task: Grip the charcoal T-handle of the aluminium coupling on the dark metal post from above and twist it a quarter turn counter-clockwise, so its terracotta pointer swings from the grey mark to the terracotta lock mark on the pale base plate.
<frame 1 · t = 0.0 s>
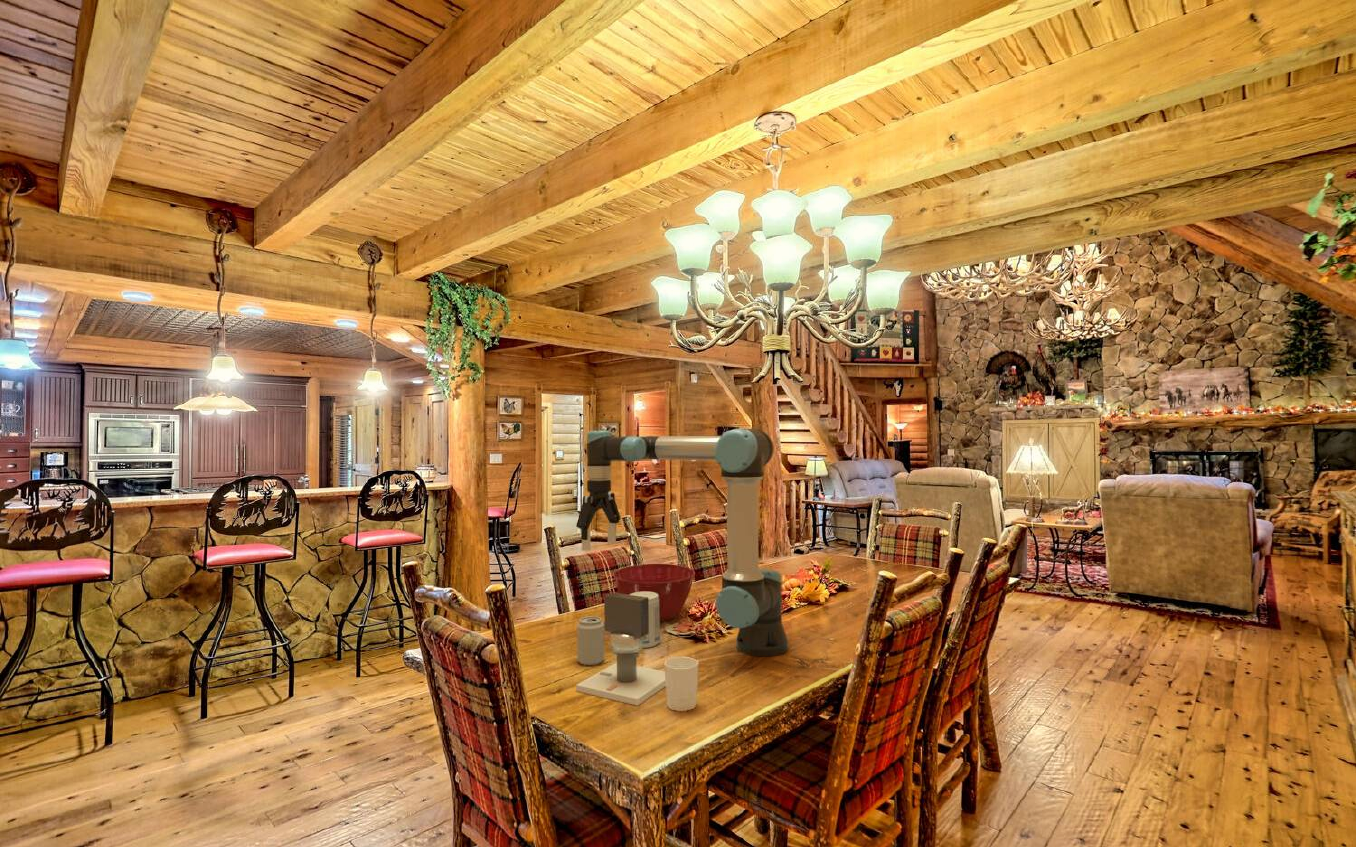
hand: (599, 546, 199), 28 cm above the table, tool pointing down, fingers open, 13 cm apart
mixing bowl: (654, 616, 220), on the table
can: (590, 662, 176), on the table
white cup: (681, 706, 148), on the table
coupling: (624, 622, 160), point 16 cm above the table, hinge at 0.0°
supplement tub: (644, 644, 191), on the table
post base: (626, 685, 160), on the table
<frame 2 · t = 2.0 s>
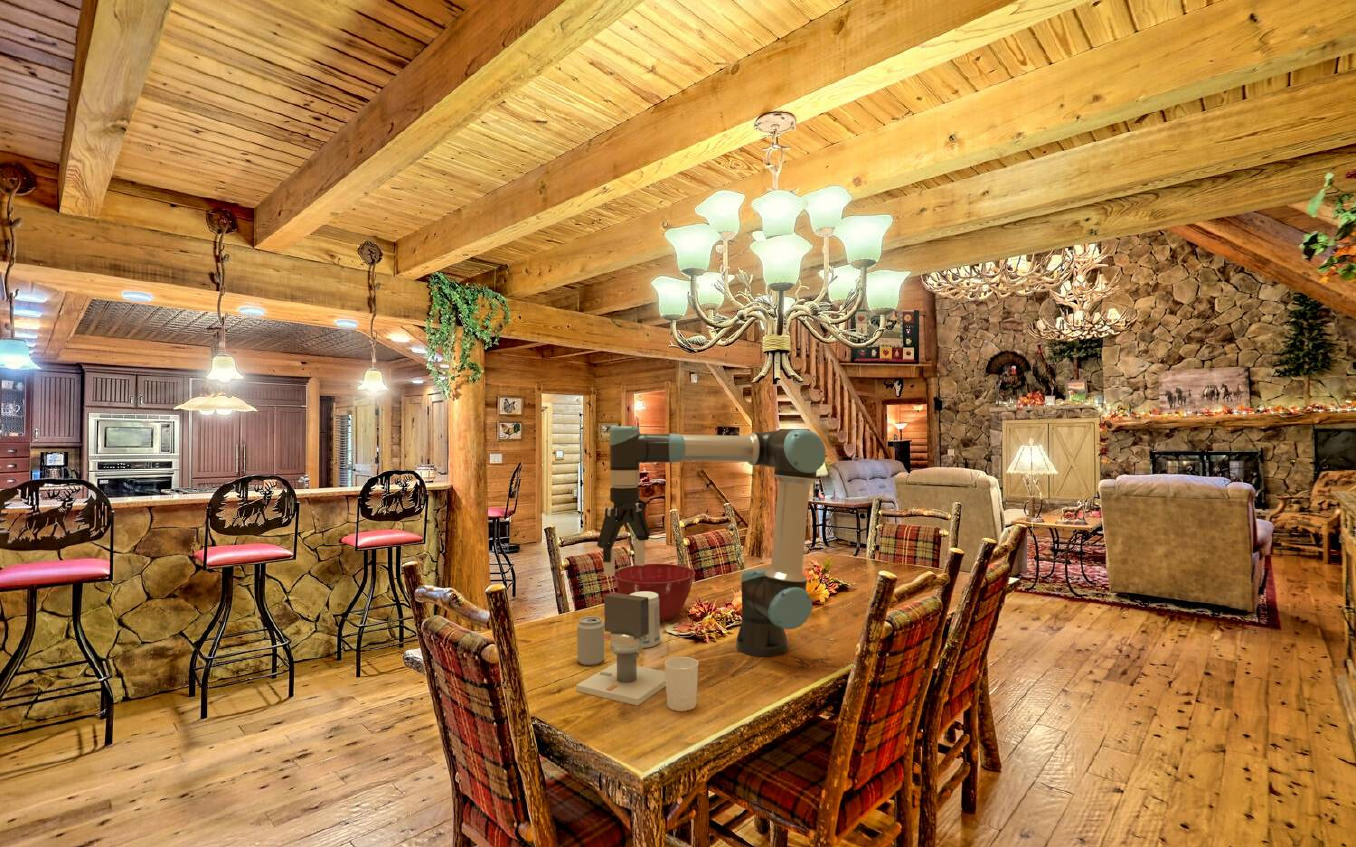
hand: (624, 570, 161), 29 cm above the table, tool pointing down, fingers open, 13 cm apart
nothing on the table moved.
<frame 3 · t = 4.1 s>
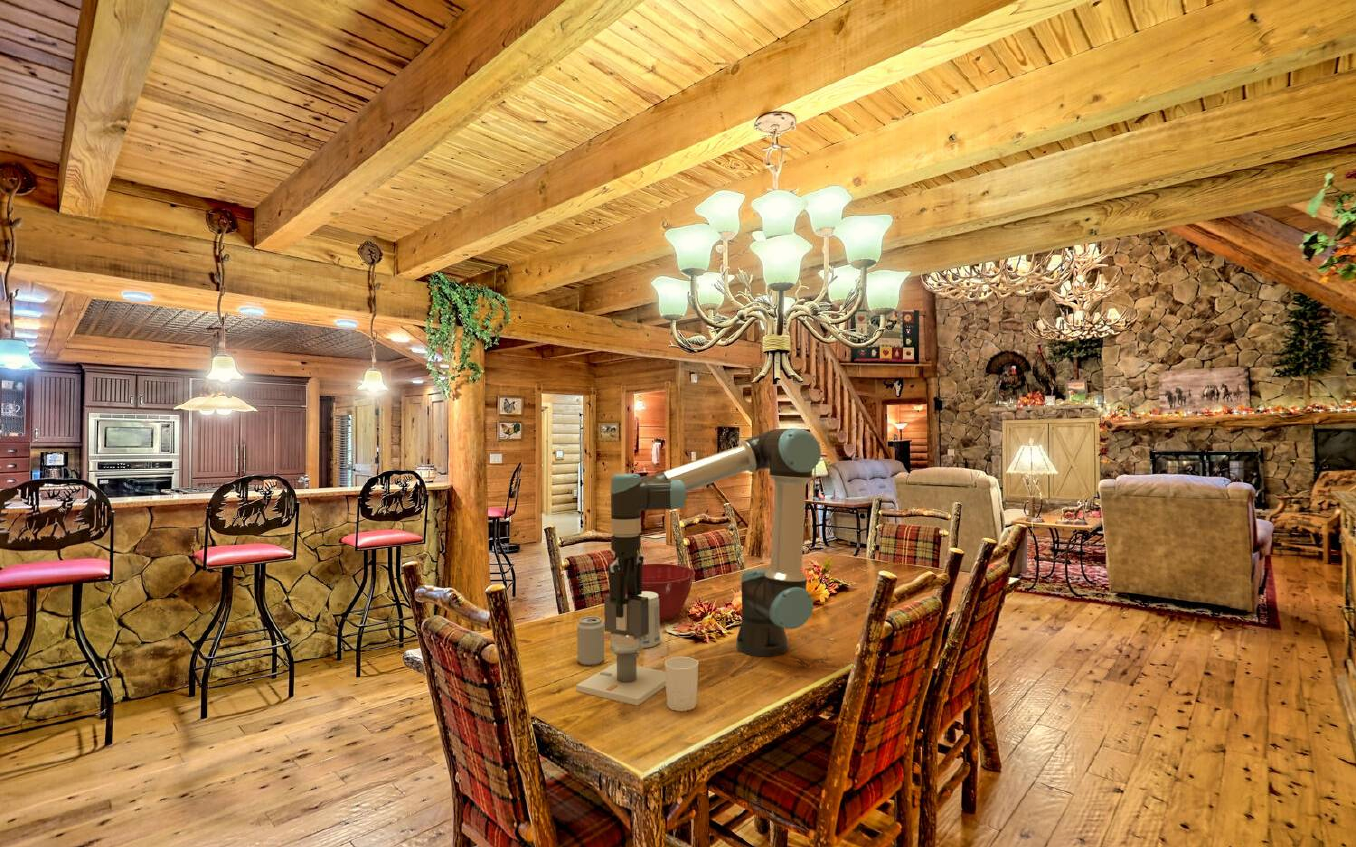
hand: (626, 627, 160), 15 cm above the table, tool pointing down, fingers closed on coupling, 4 cm apart
coupling: (624, 622, 160), point 16 cm above the table, hinge at 0.0°, touching gripper
everything else where it was.
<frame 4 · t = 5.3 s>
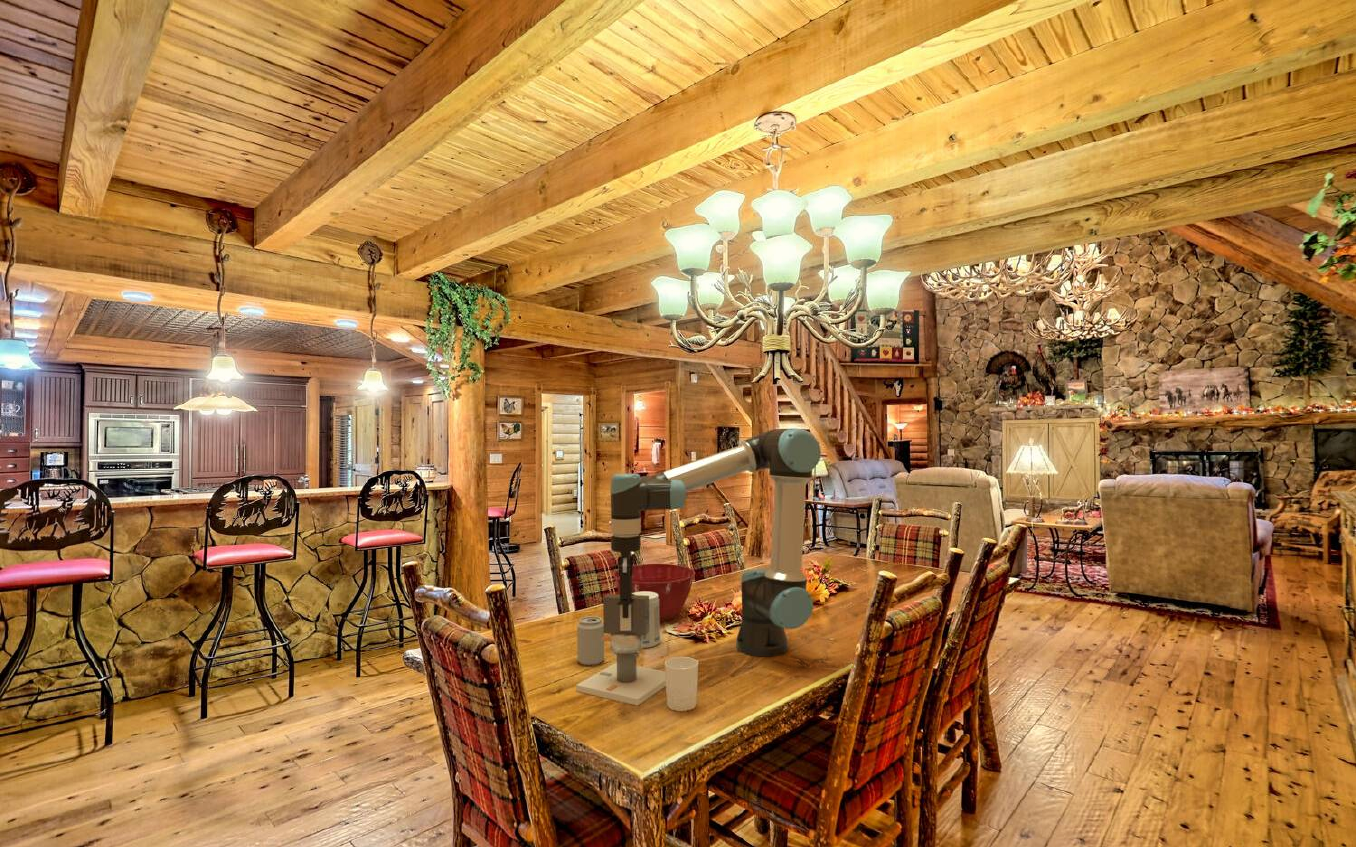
hand: (626, 626, 160), 15 cm above the table, tool pointing down, fingers closed on coupling, 4 cm apart
coupling: (624, 622, 160), point 16 cm above the table, hinge at 16.7°, touching gripper
everything else where it was.
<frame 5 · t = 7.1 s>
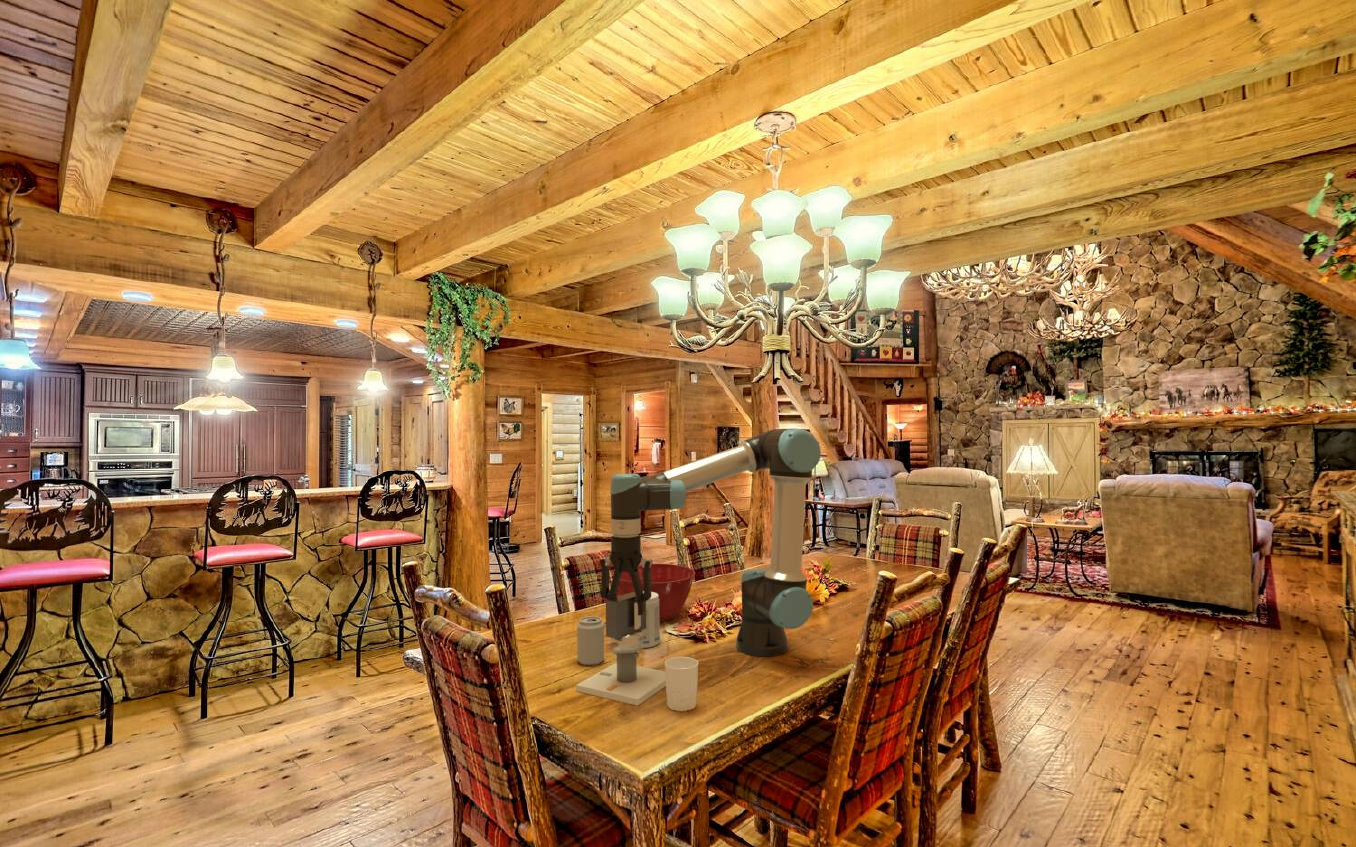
hand: (626, 626, 160), 15 cm above the table, tool pointing down, fingers closed on coupling, 5 cm apart
coupling: (625, 622, 160), point 16 cm above the table, hinge at 80.4°, touching gripper
everything else where it was.
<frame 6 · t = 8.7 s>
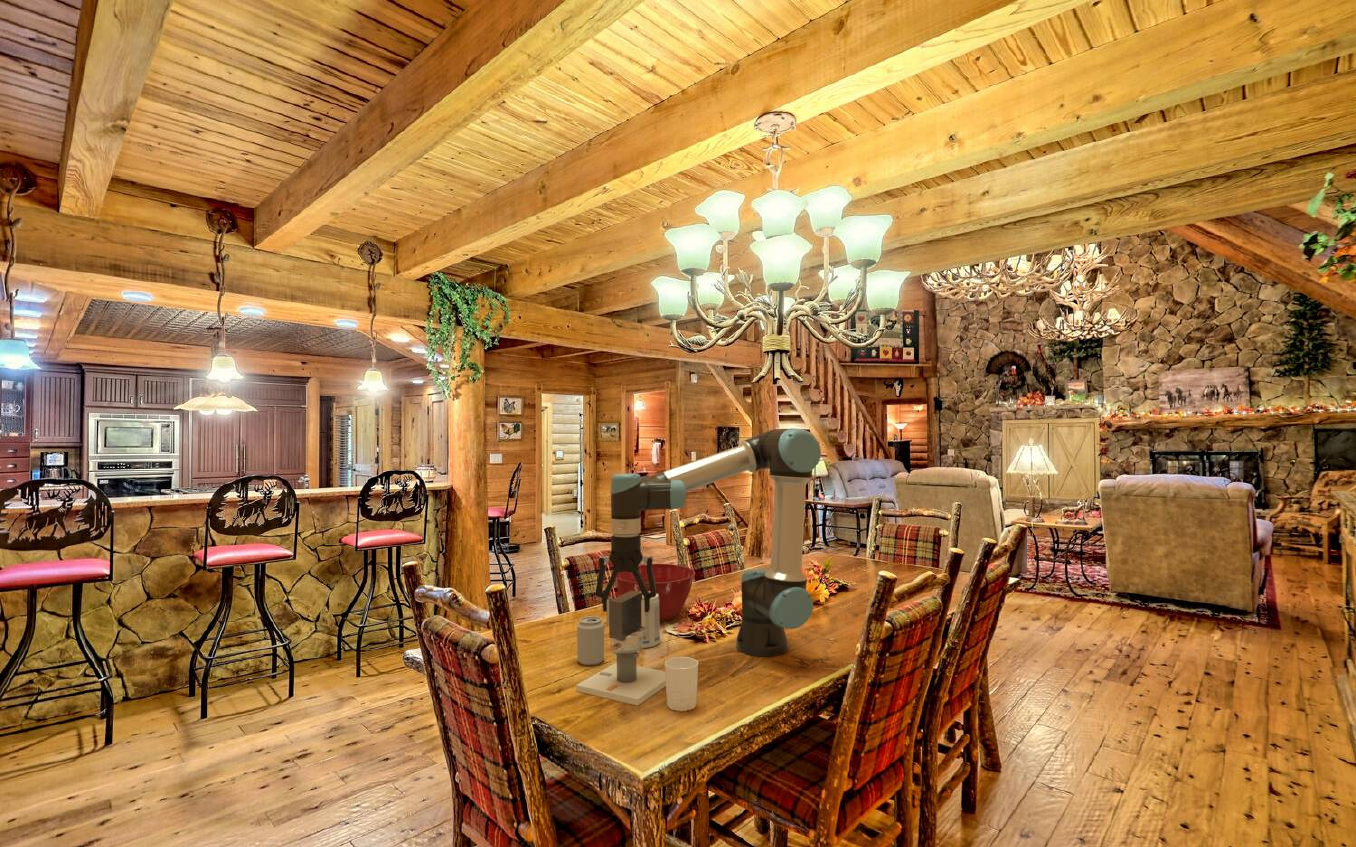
hand: (626, 624, 160), 15 cm above the table, tool pointing down, fingers open, 8 cm apart
coupling: (625, 622, 160), point 16 cm above the table, hinge at 94.9°
everything else where it was.
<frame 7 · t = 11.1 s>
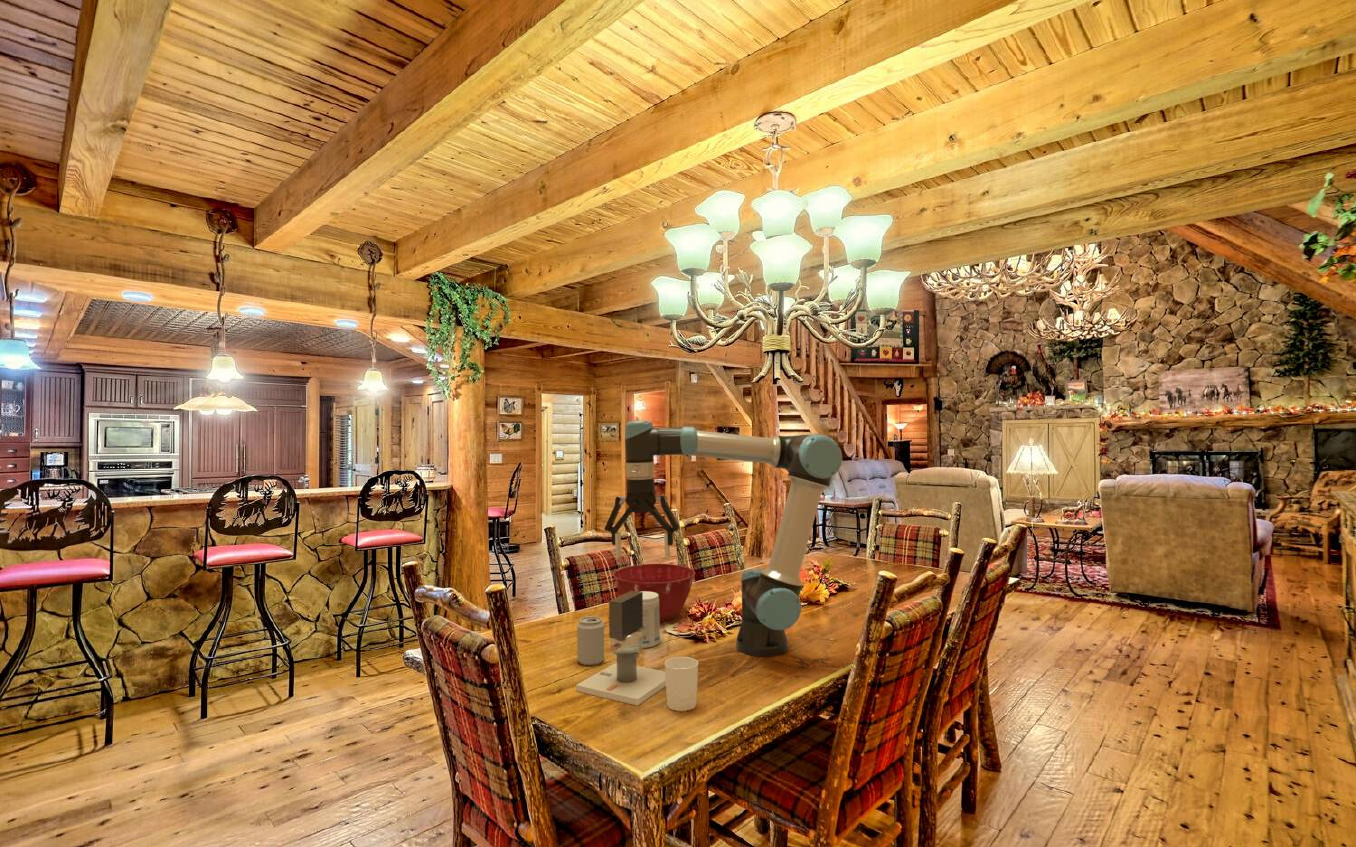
hand: (642, 557, 170), 30 cm above the table, tool pointing down, fingers open, 13 cm apart
nothing on the table moved.
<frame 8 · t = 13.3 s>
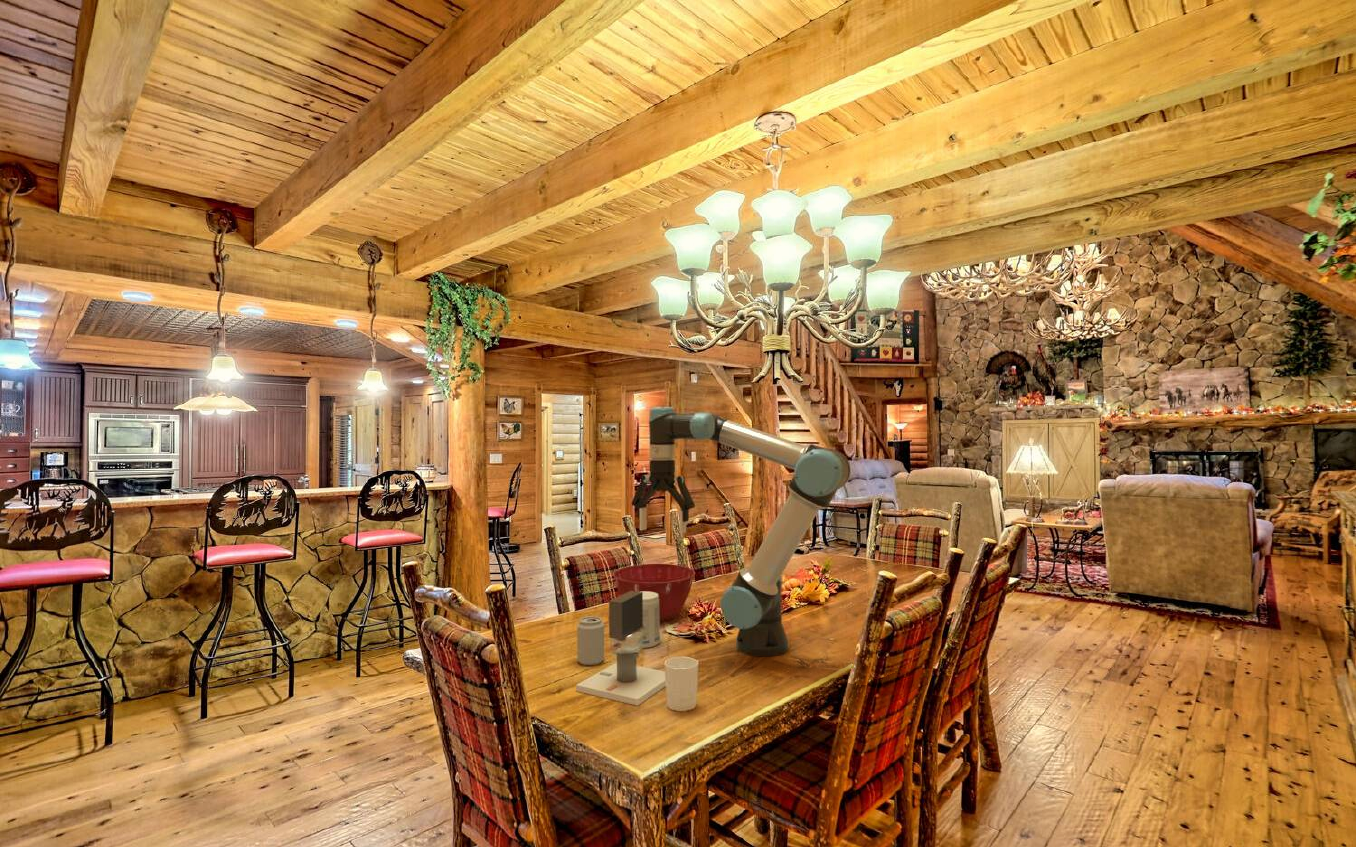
hand: (662, 531, 186), 35 cm above the table, tool pointing down, fingers open, 13 cm apart
nothing on the table moved.
at the end: coupling at +95° (first picture: +0°); the gripper is holding nothing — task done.
